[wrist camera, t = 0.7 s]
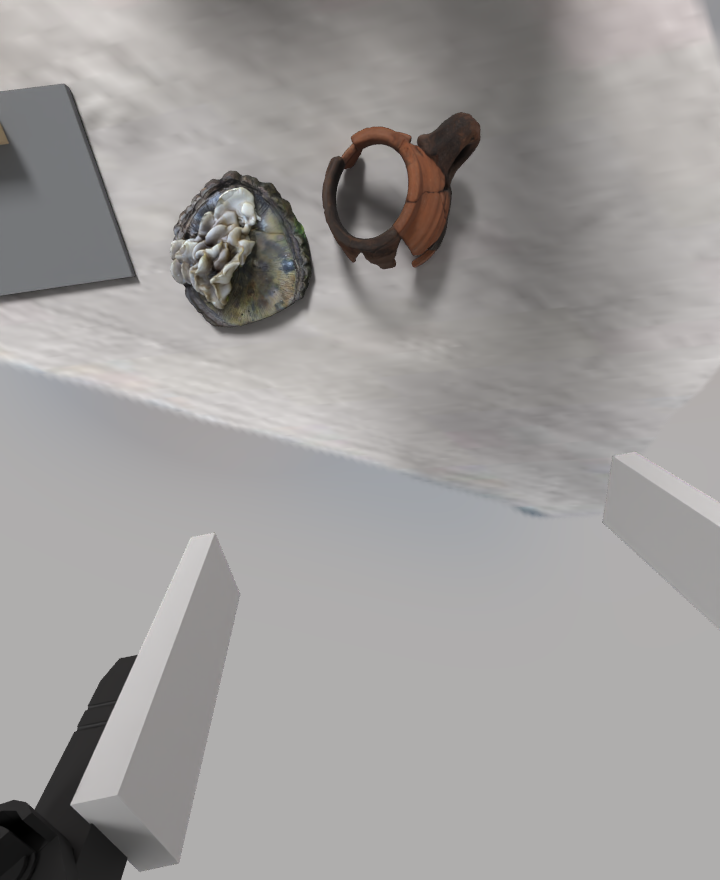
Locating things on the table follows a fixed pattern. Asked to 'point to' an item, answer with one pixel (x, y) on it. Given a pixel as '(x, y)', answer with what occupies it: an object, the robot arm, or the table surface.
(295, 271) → the oyster shell
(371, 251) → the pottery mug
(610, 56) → the table surface
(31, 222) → the board
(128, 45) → the table surface
